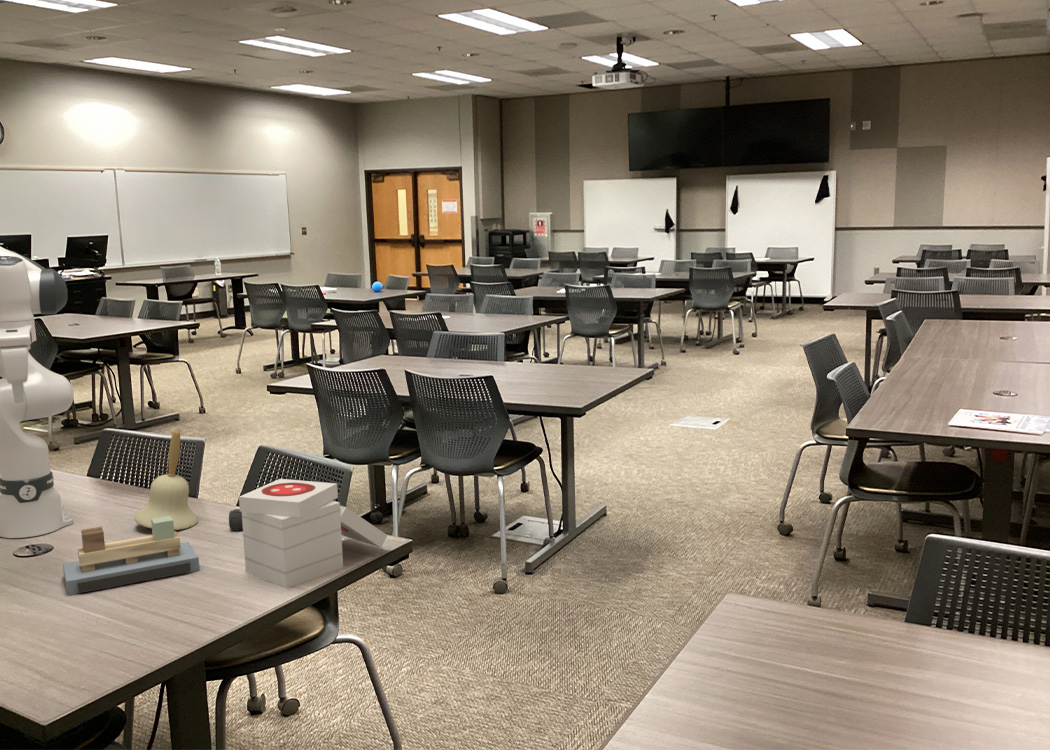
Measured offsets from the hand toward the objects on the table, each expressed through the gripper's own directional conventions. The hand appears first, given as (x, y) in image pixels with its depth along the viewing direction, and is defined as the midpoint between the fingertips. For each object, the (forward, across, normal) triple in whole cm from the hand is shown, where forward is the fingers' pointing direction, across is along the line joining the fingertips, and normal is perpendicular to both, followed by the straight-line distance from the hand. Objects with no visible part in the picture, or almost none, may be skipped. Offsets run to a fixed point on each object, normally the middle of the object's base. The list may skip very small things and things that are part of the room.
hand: (18, 398), depth 194 cm
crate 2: (+32, +11, +25) cm, 42 cm away
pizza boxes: (+39, +26, +54) cm, 72 cm away
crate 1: (+32, +11, +11) cm, 36 cm away
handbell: (+39, -21, +30) cm, 54 cm away
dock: (+39, +11, +18) cm, 44 cm away
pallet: (+36, +11, +18) cm, 42 cm away
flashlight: (+40, -5, +50) cm, 64 cm away
